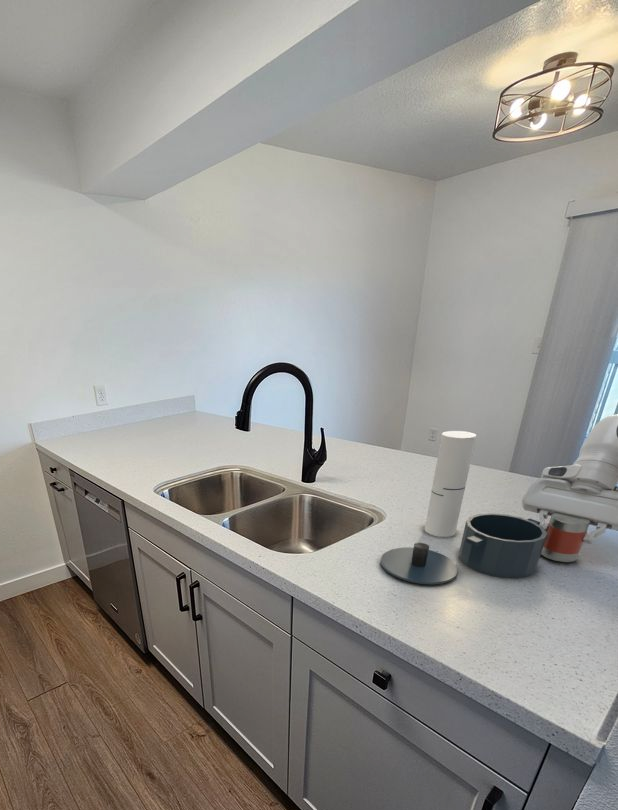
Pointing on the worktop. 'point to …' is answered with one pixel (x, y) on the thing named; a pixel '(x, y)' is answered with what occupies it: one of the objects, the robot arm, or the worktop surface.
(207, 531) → the worktop surface
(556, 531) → the can
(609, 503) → the robot arm
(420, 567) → the pot lid
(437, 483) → the cylindrical container
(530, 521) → the pot
